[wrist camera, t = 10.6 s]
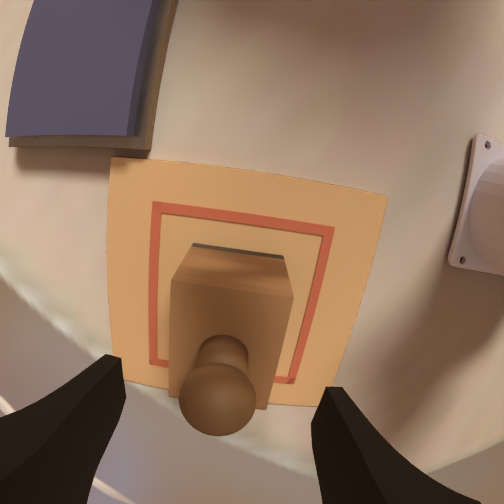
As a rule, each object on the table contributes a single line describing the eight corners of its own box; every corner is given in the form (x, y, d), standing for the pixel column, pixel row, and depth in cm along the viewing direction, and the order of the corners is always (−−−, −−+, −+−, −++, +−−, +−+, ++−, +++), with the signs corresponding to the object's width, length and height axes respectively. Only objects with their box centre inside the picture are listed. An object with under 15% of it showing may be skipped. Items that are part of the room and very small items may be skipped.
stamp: (283, 255, 16) (310, 363, 8) (263, 353, 18) (268, 478, 10) (193, 242, 16) (136, 339, 8) (186, 342, 18) (149, 462, 9)
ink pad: (188, -37, 11) (181, -55, 9) (151, 149, 15) (136, 150, 13) (54, -16, 11) (38, -27, 9) (19, 146, 14) (-3, 148, 12)
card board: (385, 195, 15) (388, 197, 15) (322, 402, 20) (323, 407, 19) (114, 156, 15) (110, 157, 14) (118, 374, 19) (115, 378, 19)
